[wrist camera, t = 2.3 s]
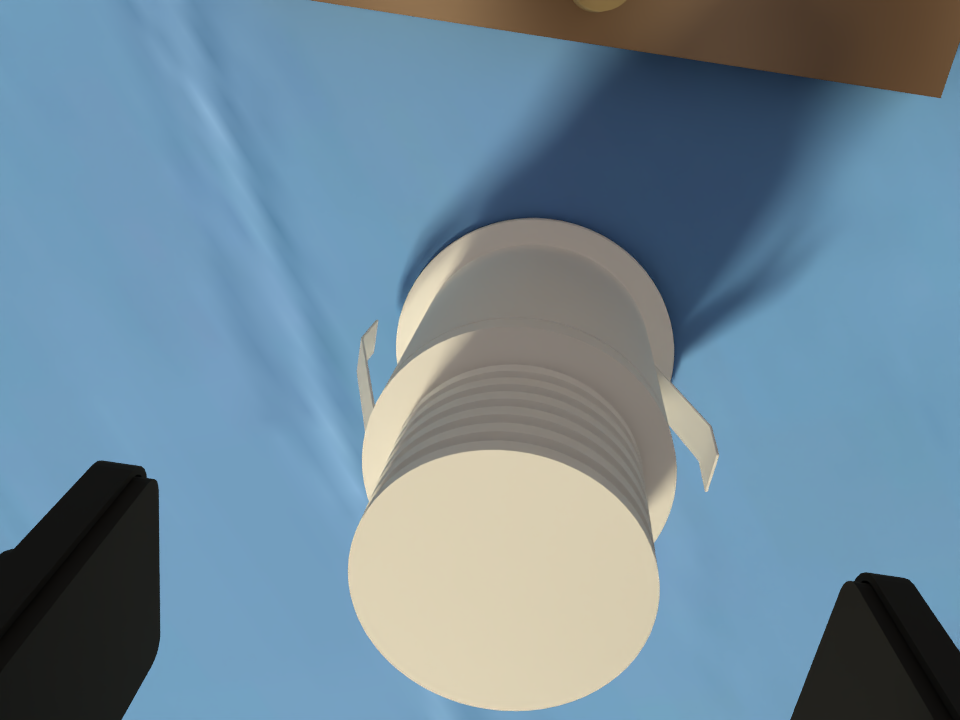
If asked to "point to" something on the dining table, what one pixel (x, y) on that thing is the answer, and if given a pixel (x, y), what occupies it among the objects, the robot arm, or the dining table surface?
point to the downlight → (520, 468)
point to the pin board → (739, 32)
